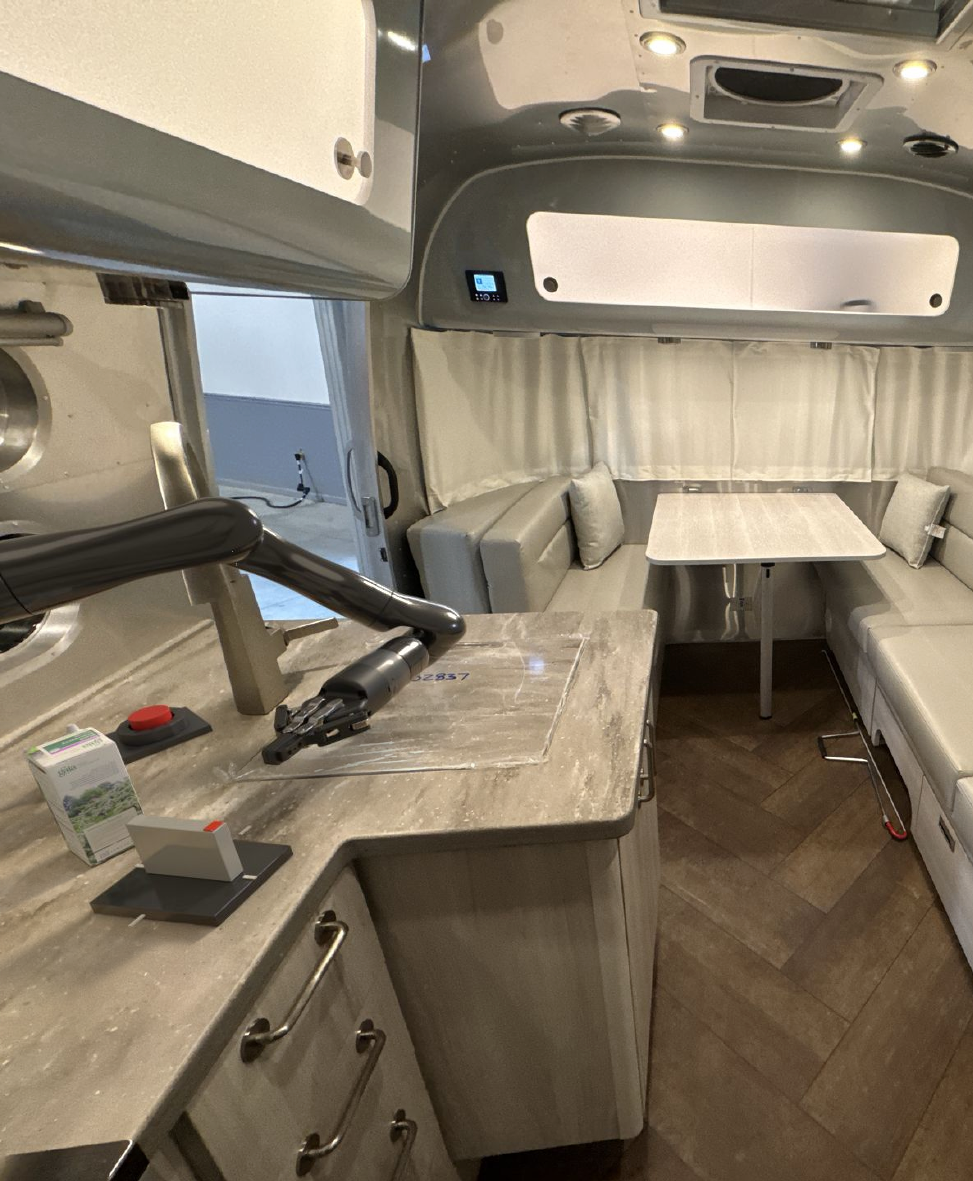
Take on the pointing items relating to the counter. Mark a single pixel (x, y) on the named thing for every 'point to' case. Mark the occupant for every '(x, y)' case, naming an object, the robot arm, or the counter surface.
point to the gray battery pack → (185, 847)
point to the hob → (192, 889)
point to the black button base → (158, 735)
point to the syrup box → (86, 792)
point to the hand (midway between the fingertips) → (268, 759)
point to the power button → (150, 717)
